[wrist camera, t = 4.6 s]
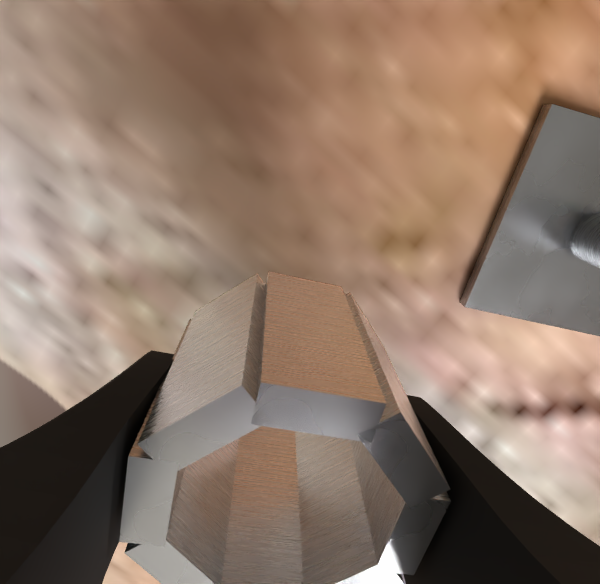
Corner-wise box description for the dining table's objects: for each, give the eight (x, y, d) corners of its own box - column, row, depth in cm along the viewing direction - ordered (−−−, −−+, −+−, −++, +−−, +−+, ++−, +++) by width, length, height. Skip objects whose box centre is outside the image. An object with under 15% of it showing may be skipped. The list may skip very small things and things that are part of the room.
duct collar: (348, 455, 13) (385, 631, 9) (173, 428, 13) (112, 605, 8) (404, 299, 11) (490, 421, 7) (199, 256, 11) (138, 361, 6)
